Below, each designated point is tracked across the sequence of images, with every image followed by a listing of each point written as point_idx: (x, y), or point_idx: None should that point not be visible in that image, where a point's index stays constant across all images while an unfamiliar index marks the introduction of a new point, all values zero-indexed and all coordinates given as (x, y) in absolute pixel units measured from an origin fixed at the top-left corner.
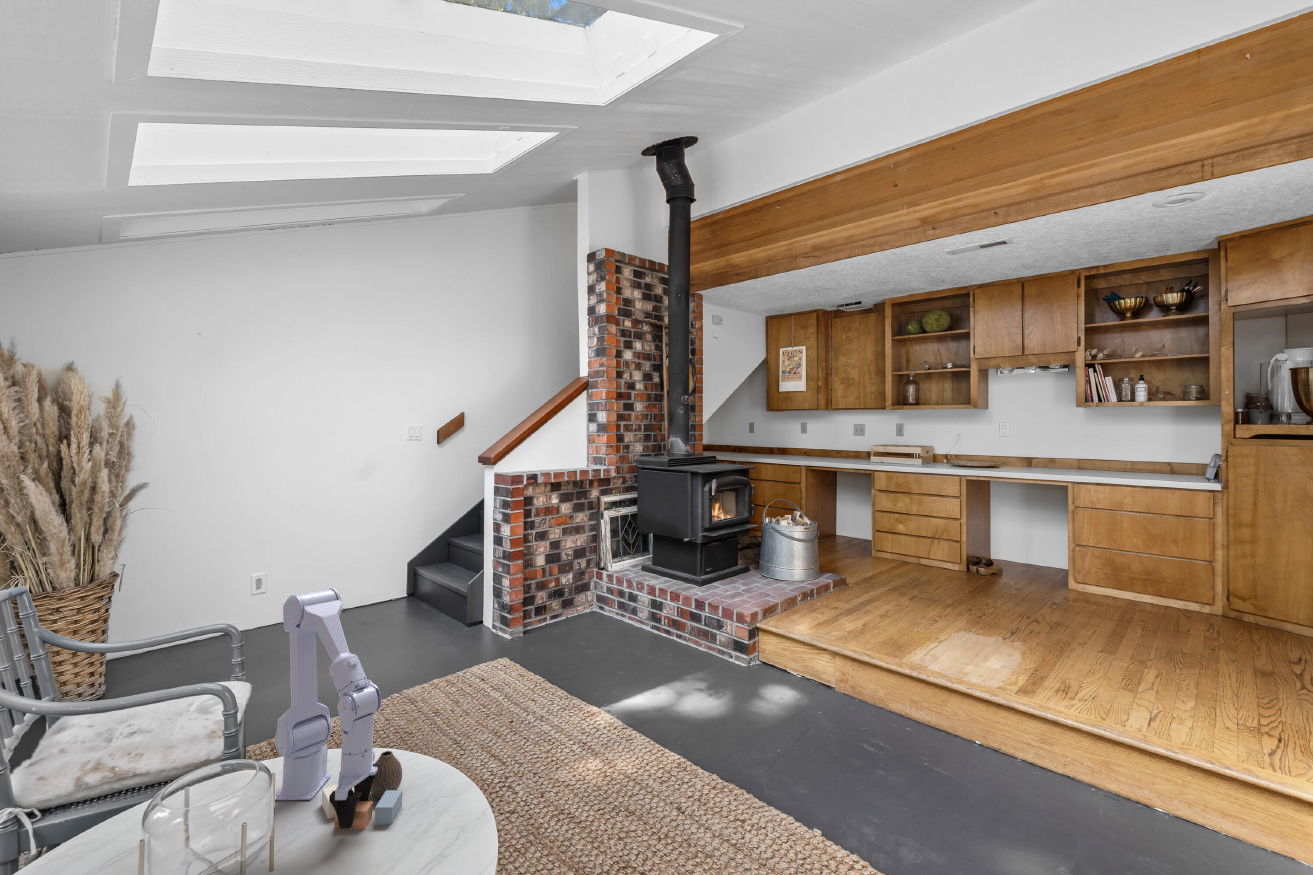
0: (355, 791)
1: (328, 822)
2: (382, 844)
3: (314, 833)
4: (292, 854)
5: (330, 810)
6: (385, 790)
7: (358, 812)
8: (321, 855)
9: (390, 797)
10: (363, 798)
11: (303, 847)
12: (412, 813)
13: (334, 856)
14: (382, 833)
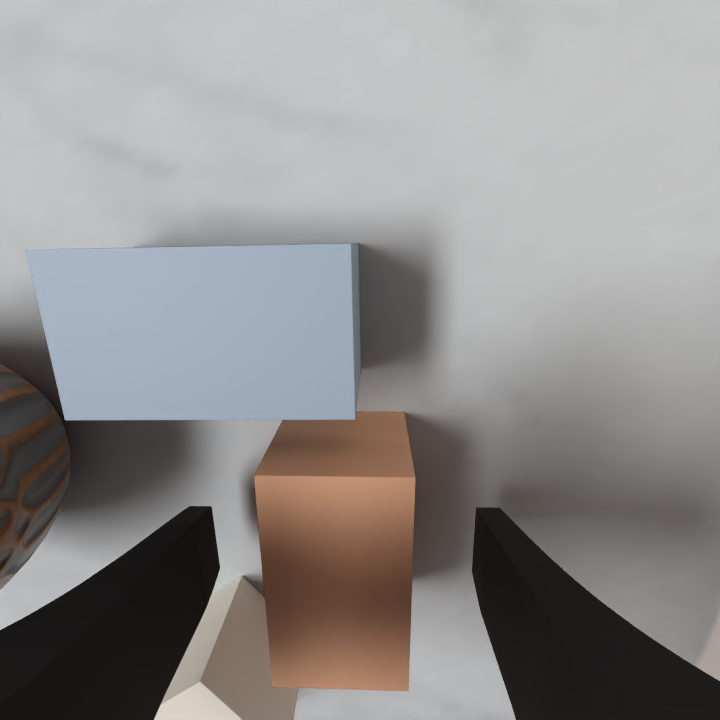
0: (170, 668)
1: None
2: (606, 220)
3: (437, 656)
4: None
5: None
6: (30, 428)
7: (410, 529)
8: (649, 556)
9: (176, 332)
10: (193, 557)
11: None
12: (214, 114)
13: (676, 487)
14: (470, 271)
